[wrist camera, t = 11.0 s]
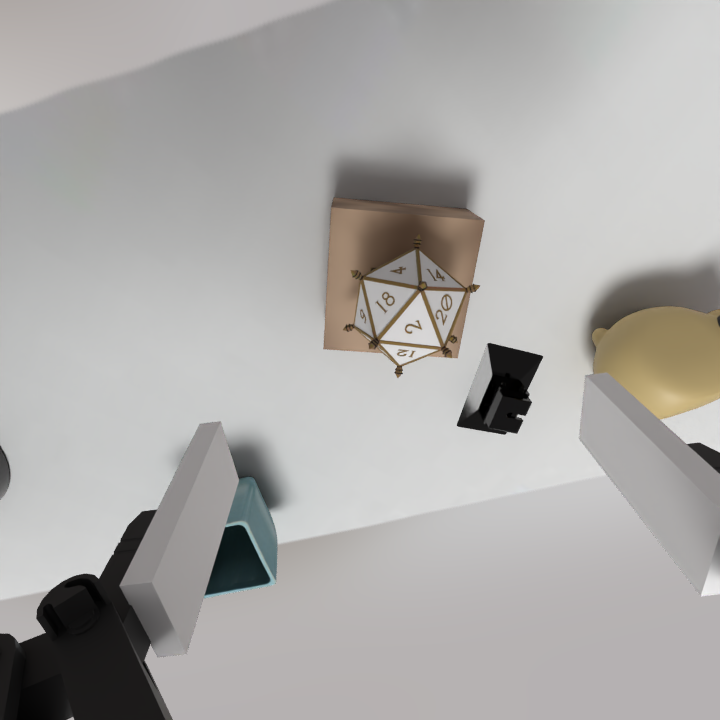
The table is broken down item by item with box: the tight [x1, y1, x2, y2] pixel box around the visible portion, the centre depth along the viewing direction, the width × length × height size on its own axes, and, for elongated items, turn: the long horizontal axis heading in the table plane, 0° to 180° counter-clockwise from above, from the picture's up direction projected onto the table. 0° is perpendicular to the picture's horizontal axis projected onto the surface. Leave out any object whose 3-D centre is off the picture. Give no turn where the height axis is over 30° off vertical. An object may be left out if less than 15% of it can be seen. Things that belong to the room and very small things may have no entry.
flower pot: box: [203, 477, 277, 599], centre depth 47 cm, size 9×9×9 cm
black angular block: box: [457, 343, 543, 435], centre depth 44 cm, size 12×7×5 cm, turn 166°
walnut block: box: [324, 198, 485, 358], centre depth 38 cm, size 11×11×6 cm
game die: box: [343, 234, 480, 378], centre depth 31 cm, size 9×8×10 cm
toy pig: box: [592, 306, 720, 420], centre depth 39 cm, size 10×12×11 cm
